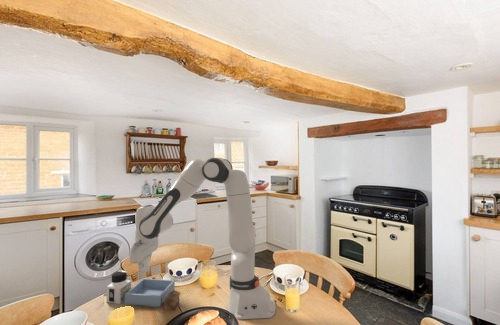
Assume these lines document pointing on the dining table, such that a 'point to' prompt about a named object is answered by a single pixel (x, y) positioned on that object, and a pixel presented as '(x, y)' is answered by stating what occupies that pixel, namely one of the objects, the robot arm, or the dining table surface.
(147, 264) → the cream cylinder
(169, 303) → the walnut cube
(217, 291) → the dining table surface
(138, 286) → the tote
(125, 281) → the container
